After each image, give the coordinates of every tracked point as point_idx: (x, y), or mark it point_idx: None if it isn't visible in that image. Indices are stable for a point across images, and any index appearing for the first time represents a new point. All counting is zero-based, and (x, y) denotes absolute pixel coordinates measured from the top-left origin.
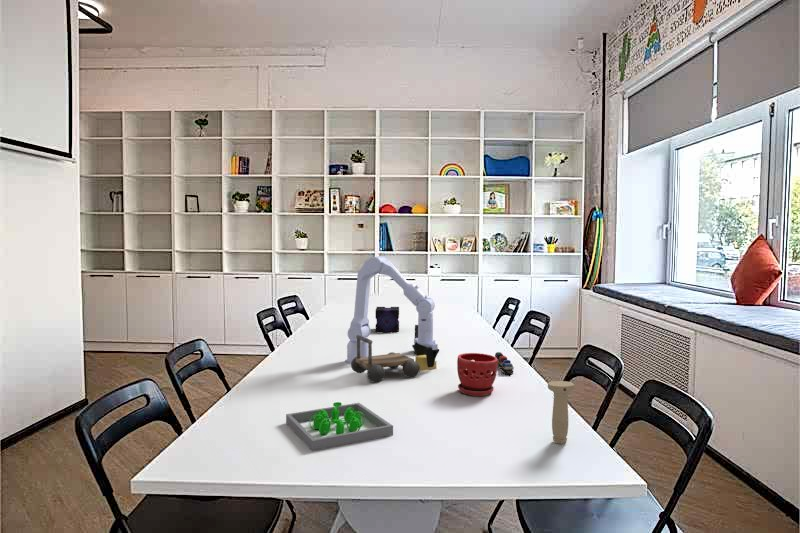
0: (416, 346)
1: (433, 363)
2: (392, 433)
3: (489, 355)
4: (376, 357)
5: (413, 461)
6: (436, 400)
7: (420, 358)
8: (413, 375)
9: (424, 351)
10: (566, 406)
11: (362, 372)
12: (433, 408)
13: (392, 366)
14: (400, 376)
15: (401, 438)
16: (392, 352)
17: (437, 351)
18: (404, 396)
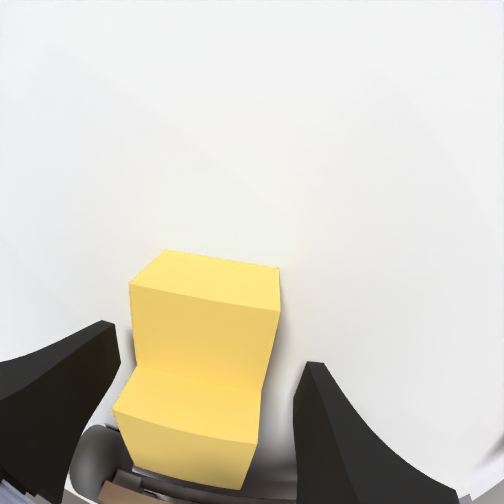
0: (51, 495)
1: (335, 390)
2: (469, 495)
3: None
4: None
5: (498, 479)
6: (496, 450)
7: (237, 486)
8: None
9: (39, 383)
10: None
11: (153, 495)
12: (497, 459)
13: (129, 455)
14: (278, 484)
15: (479, 488)
16: (79, 493)
17: (434, 502)
18: None
